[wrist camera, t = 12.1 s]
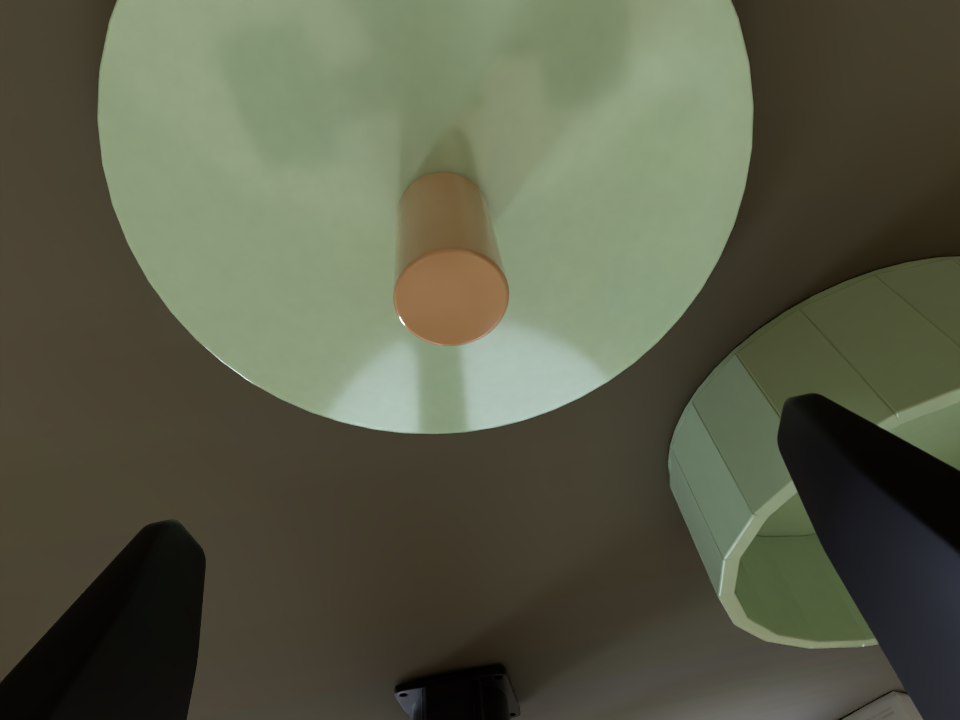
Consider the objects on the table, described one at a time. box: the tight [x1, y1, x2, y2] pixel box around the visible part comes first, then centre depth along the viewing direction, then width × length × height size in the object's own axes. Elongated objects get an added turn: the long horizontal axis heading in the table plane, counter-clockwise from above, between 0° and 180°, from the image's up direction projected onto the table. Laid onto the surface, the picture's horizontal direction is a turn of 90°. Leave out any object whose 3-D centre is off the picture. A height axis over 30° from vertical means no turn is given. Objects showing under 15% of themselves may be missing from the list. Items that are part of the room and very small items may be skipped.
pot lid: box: [97, 0, 754, 434], centre depth 14 cm, size 16×16×5 cm
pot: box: [668, 256, 960, 649], centre depth 22 cm, size 15×15×5 cm
